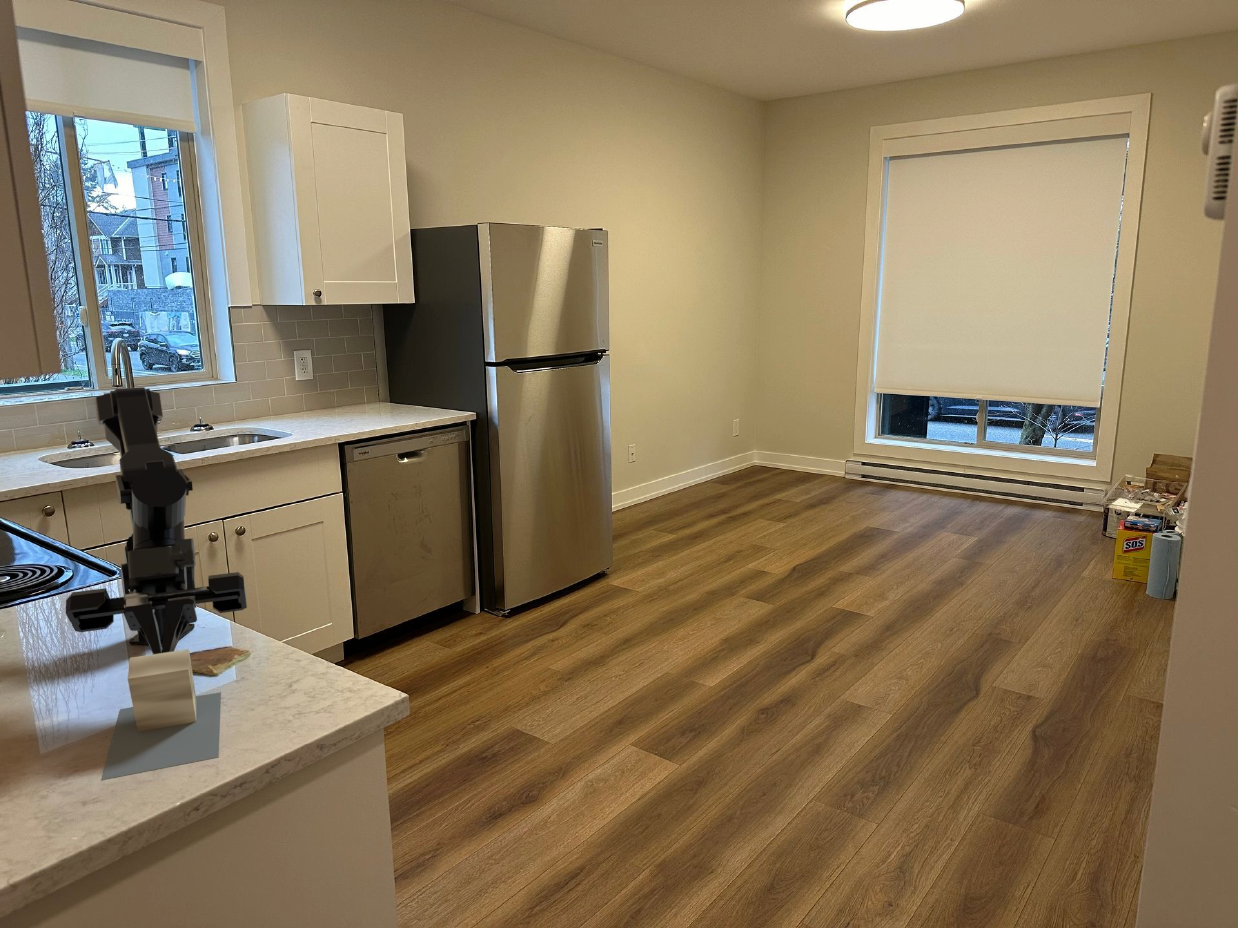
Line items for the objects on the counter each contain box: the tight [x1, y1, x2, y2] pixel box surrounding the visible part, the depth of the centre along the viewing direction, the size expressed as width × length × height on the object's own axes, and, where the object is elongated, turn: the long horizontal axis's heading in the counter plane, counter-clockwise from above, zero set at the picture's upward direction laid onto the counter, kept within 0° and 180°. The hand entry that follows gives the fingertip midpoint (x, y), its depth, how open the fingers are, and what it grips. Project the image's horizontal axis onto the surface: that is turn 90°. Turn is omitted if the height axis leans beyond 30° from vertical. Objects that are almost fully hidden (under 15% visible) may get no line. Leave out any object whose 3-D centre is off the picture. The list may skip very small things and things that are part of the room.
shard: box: [190, 645, 252, 677], centre depth 116 cm, size 11×8×2 cm
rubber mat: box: [101, 691, 222, 781], centre depth 98 cm, size 16×11×1 cm
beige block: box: [127, 648, 197, 732], centre depth 99 cm, size 4×6×8 cm, turn 113°
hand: (162, 667), depth 99 cm, fingers closed
